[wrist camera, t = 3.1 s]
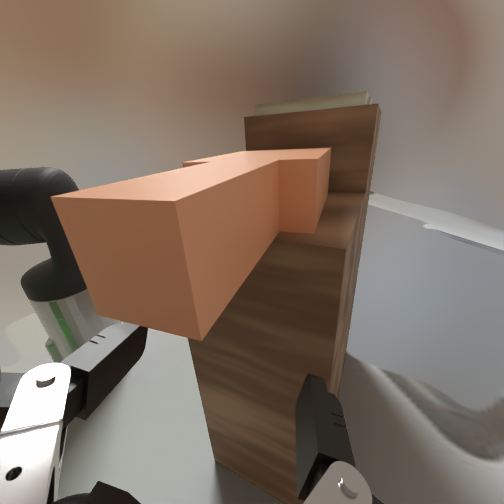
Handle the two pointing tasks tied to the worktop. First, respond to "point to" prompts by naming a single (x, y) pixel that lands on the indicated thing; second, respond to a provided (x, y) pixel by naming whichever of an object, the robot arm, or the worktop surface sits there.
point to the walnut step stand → (290, 297)
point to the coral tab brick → (189, 233)
